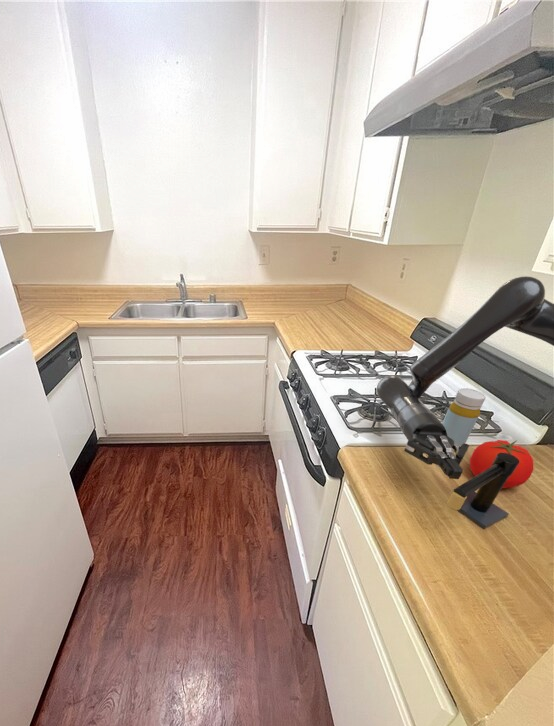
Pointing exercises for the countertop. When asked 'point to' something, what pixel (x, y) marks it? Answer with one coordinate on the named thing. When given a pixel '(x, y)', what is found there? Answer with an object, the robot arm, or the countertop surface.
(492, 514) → the faucet base
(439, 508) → the countertop surface
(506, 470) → the spout
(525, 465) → the tomato
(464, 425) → the bottle
